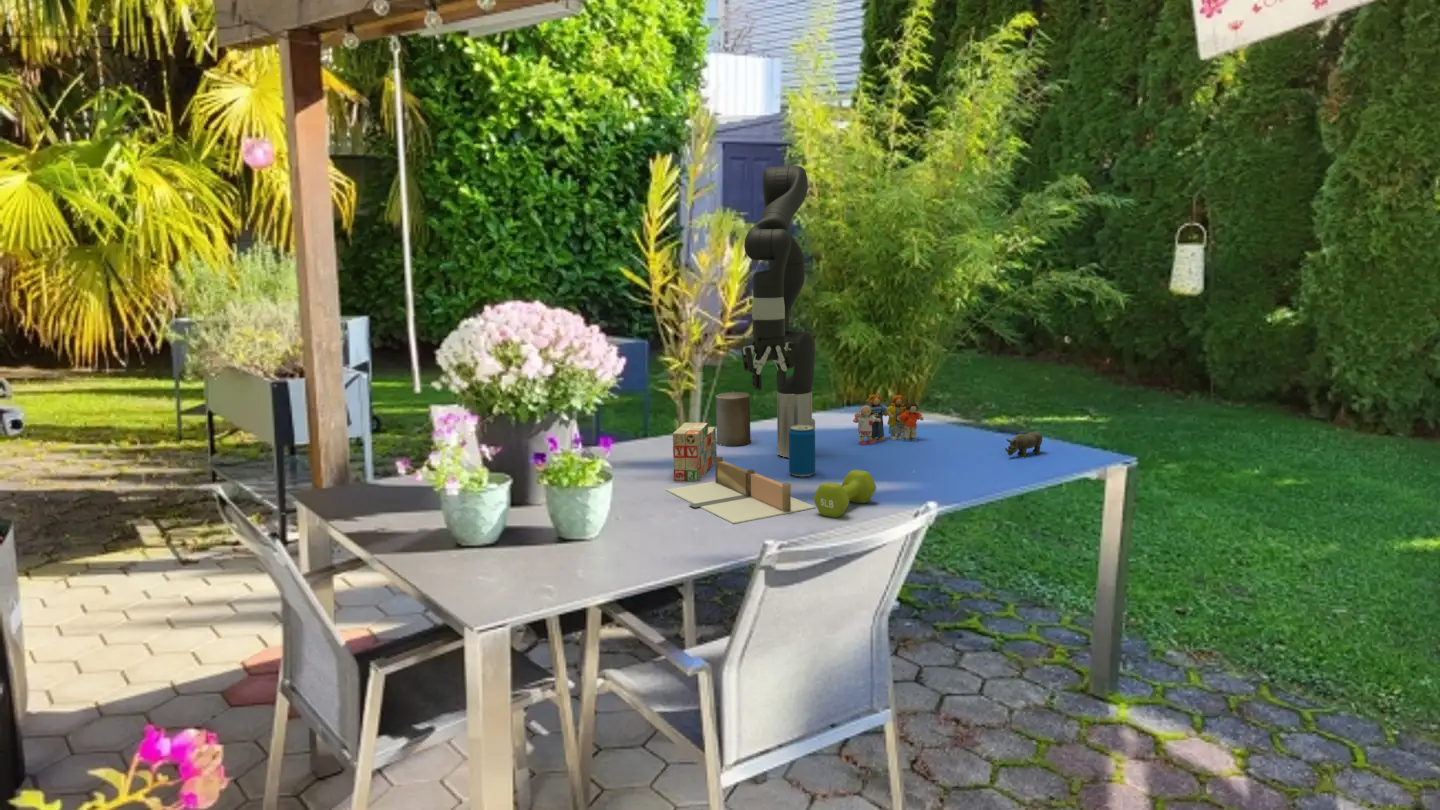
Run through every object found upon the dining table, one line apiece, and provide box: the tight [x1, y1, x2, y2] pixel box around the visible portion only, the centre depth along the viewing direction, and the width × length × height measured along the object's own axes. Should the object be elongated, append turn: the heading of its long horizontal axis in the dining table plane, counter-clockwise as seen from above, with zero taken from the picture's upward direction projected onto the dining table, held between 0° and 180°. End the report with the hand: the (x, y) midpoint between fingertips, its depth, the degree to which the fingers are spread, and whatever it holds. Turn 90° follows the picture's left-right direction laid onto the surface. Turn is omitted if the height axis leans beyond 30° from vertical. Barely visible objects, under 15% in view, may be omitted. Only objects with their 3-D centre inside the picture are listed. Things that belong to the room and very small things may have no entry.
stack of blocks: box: [672, 422, 718, 482], centre depth 259 cm, size 21×6×12 cm, turn 168°
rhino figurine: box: [1004, 430, 1043, 458], centre depth 269 cm, size 4×14×6 cm, turn 123°
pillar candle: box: [715, 390, 752, 447], centre depth 289 cm, size 10×10×15 cm
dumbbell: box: [813, 469, 877, 519], centre depth 225 cm, size 16×8×7 cm, turn 144°
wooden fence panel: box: [714, 456, 755, 496], centre depth 241 cm, size 2×16×6 cm, turn 30°
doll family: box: [852, 393, 924, 446], centre depth 290 cm, size 21×10×13 cm, turn 104°
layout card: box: [665, 480, 816, 524], centre depth 234 cm, size 23×31×1 cm
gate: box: [751, 472, 792, 511], centre depth 228 cm, size 2×14×6 cm, turn 30°
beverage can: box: [788, 425, 816, 477], centre depth 253 cm, size 6×6×12 cm
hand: (769, 388), depth 241 cm, fingers open, 5 cm apart
